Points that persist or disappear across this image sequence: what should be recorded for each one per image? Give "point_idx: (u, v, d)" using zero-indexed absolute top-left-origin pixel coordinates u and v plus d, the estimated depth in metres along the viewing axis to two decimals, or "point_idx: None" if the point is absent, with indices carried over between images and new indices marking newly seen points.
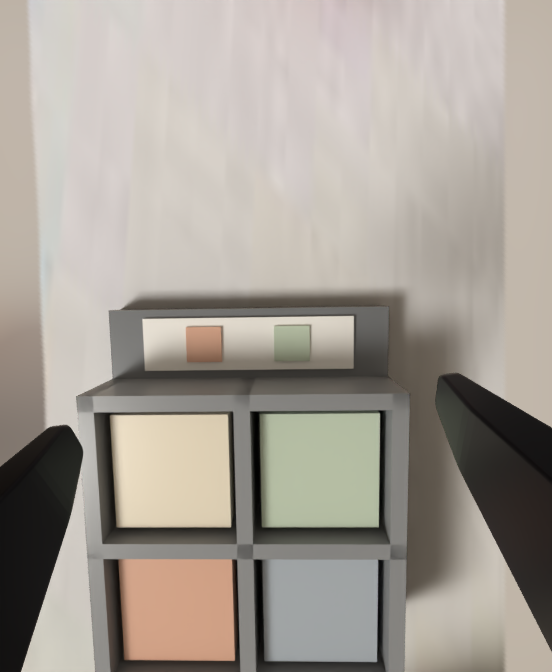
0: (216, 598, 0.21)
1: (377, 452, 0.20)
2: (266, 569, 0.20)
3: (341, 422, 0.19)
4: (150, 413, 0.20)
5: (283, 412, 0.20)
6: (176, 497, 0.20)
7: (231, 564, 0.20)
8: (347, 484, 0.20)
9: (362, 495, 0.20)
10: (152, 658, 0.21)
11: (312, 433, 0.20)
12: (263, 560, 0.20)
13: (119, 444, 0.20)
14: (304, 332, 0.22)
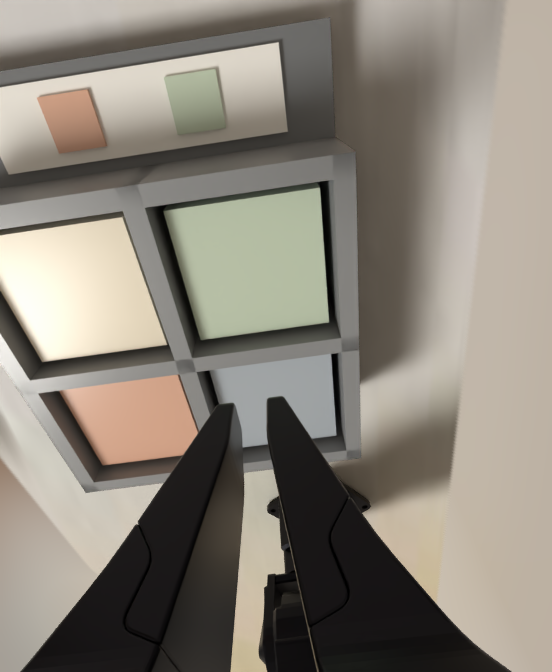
0: (172, 408, 0.20)
1: (320, 239, 0.16)
2: (215, 377, 0.19)
3: (270, 206, 0.15)
4: (23, 229, 0.15)
5: (194, 204, 0.15)
6: (95, 323, 0.17)
7: (178, 378, 0.19)
8: (288, 282, 0.17)
9: (307, 292, 0.17)
10: (127, 460, 0.22)
11: (237, 227, 0.15)
12: (210, 370, 0.19)
13: (1, 274, 0.16)
14: (210, 81, 0.15)
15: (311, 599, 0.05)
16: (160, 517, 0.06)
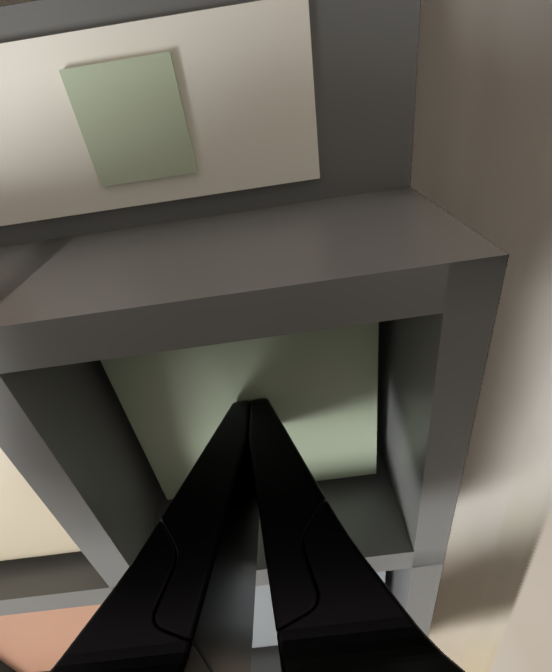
0: None
1: (373, 363, 0.09)
2: None
3: None
4: None
5: None
6: None
7: None
8: (313, 424, 0.10)
9: (343, 435, 0.10)
10: None
11: (222, 347, 0.08)
12: None
13: None
14: (160, 80, 0.07)
15: (280, 602, 0.05)
16: (183, 514, 0.06)
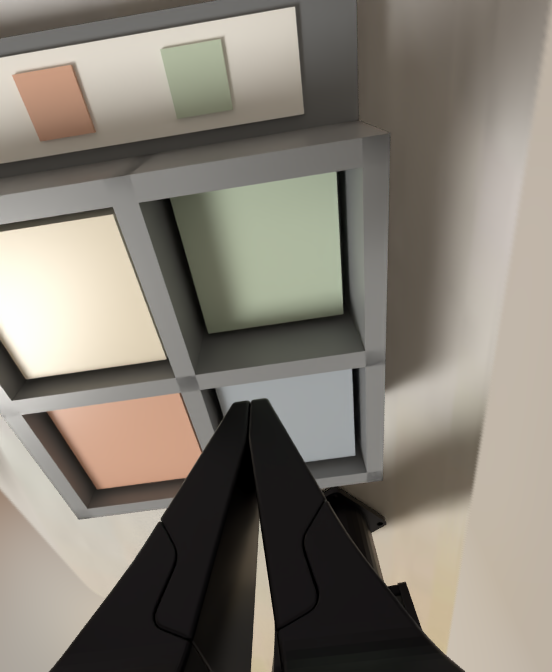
0: (173, 428, 0.18)
1: (336, 225, 0.15)
2: (221, 395, 0.17)
3: (283, 189, 0.14)
4: None
5: None
6: (84, 336, 0.15)
7: (179, 396, 0.17)
8: (301, 271, 0.16)
9: (320, 282, 0.16)
10: (124, 484, 0.20)
11: (247, 212, 0.14)
12: None
13: None
14: (214, 54, 0.13)
15: (280, 603, 0.05)
16: (183, 514, 0.06)
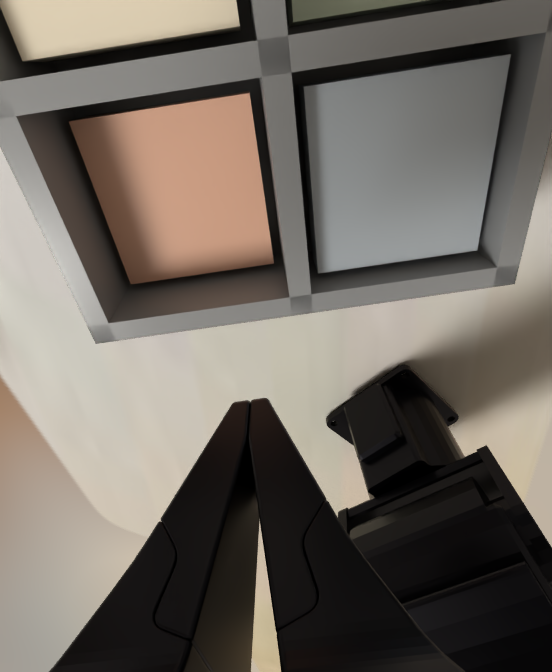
0: (236, 174, 0.14)
1: None
2: (312, 114, 0.12)
3: None
4: None
5: None
6: None
7: (250, 110, 0.13)
8: None
9: None
10: (166, 276, 0.16)
11: None
12: (306, 94, 0.11)
13: None
14: None
15: (280, 603, 0.05)
16: (183, 514, 0.06)
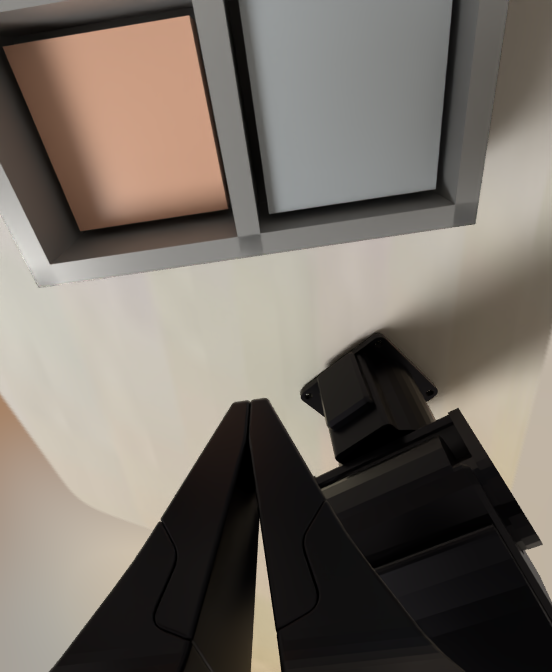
0: (181, 107, 0.13)
1: None
2: (249, 30, 0.11)
3: None
4: None
5: None
6: None
7: (192, 35, 0.12)
8: None
9: None
10: (116, 222, 0.15)
11: None
12: (241, 7, 0.11)
13: None
14: None
15: (280, 603, 0.05)
16: (183, 514, 0.06)
